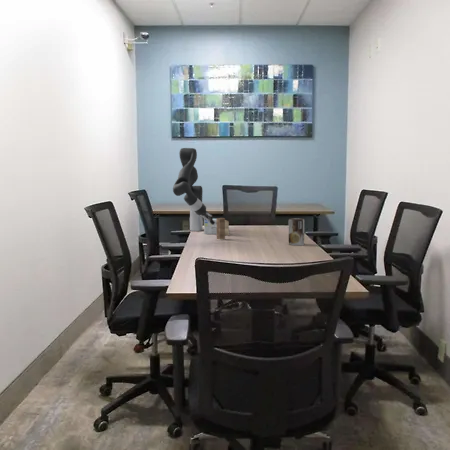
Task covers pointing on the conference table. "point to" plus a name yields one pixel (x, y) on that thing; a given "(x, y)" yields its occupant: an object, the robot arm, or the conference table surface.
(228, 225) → the maple block
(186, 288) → the conference table surface
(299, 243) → the coffee box
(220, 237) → the walnut block
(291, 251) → the conference table surface
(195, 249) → the conference table surface
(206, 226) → the light bulb box
